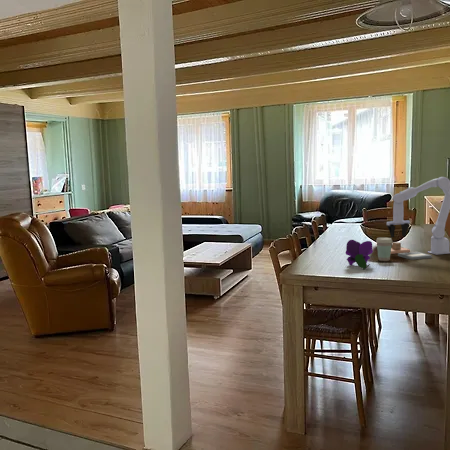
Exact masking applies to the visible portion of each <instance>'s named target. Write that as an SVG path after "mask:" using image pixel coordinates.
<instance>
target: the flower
mask: <svg viewBox="0 0 450 450" xmlns="http://www.w3.org/2000/svg"><path fill="white" fill-rule="evenodd" d="M345 248H346V249H345V253H344V254H345V255H347V256H348V257H347V258H346V262H348V265H349V266H352V265H354V264H355V263H356V264H357V266H358V267H359V268H361V269H363V270H366V269H367V268H368V267H369V266H370V265H371V264H370V263H369V264H367V263H368V261H369V260H370V259H371V257H370V255H372V254H373V252H374V251H373V242H372V240H371V241H370V240H366V241H363V242H359V241H357V240H354V239H349V240H348V241H347V242H346V247H345Z"/></svg>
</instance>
